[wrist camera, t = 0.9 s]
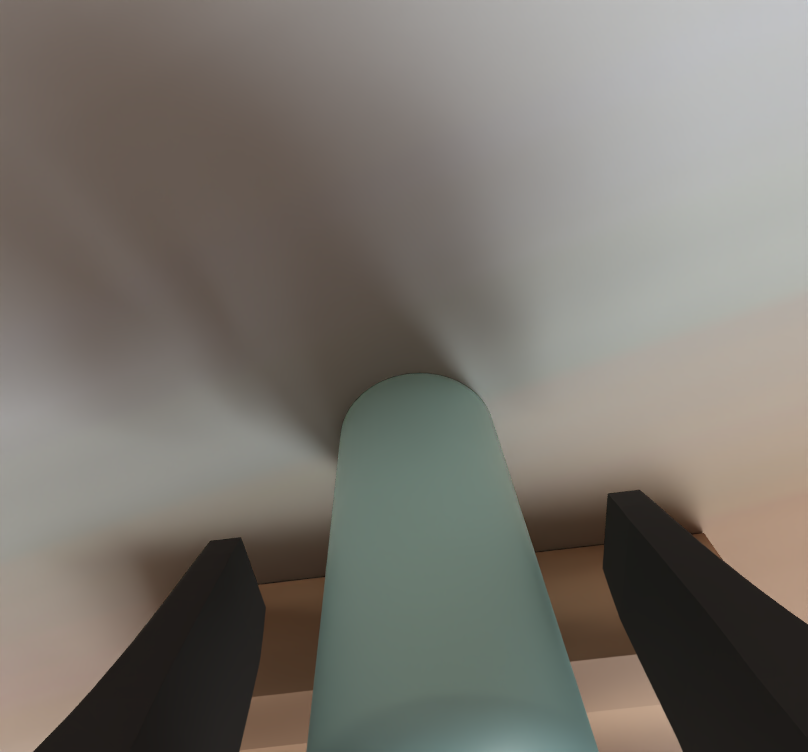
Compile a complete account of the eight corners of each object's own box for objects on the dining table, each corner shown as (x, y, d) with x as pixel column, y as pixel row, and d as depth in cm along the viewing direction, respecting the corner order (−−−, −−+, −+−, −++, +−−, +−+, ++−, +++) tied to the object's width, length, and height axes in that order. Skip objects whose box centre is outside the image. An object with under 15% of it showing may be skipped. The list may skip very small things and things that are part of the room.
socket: (668, 726, 21) (717, 837, 18) (252, 771, 22) (232, 887, 19) (703, 532, 17) (777, 638, 13) (170, 594, 17) (123, 711, 14)
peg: (497, 491, 16) (594, 839, 8) (354, 507, 16) (332, 865, 9) (490, 363, 14) (608, 676, 7) (327, 384, 14) (272, 714, 7)
